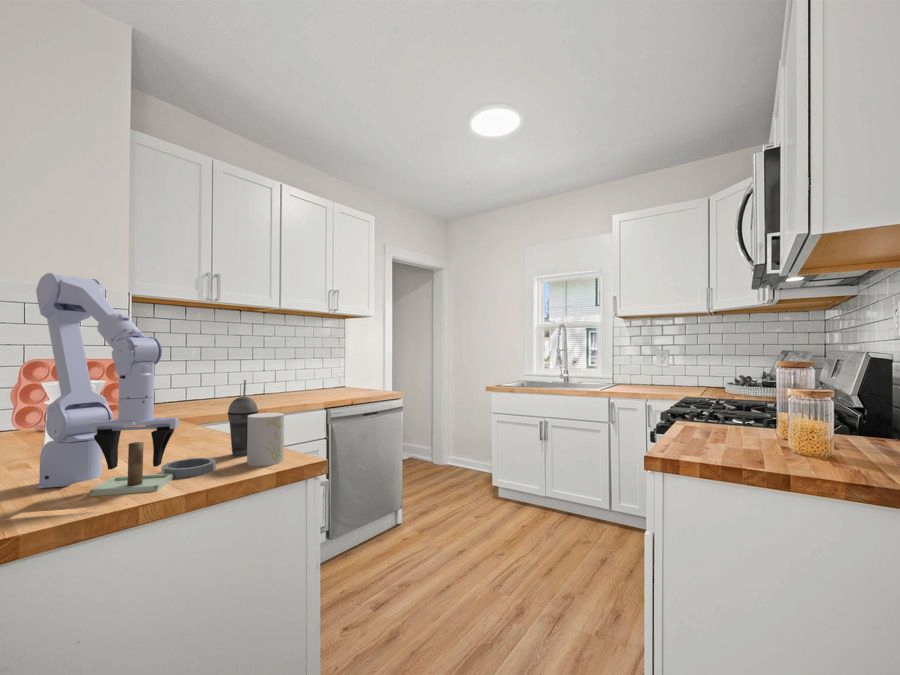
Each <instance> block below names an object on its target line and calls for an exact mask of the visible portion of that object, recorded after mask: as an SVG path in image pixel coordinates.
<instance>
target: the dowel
mask: <svg viewBox="0 0 900 675" xmlns="http://www.w3.org/2000/svg"><path fill="white" fill-rule="evenodd" d="M127 453H128V454H127V455H128V458H127V476H128V482H127V485H128V486H136V485H140V484H142V479H143V475H144V474H143V473H144V472H143V471H144V441H136V442H130V443H128V451H127Z"/></svg>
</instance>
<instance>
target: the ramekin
mask: <svg viewBox="0 0 900 675" xmlns="http://www.w3.org/2000/svg"><path fill="white" fill-rule="evenodd" d="M216 469H217V460H216V459H214V458H211V457H195V458H194V457H193V458H183V459H180V460H179V459H177V460H174V461H170V462H166V463H165V464H163V465H161V473H160V474H167V473H174V479H175V480H176V479H186V478H187V479H189V478H195V477H200V476H205V475H208V474H210V473H213V472H214V471H215V470H216ZM174 479H173V480H174Z"/></svg>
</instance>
